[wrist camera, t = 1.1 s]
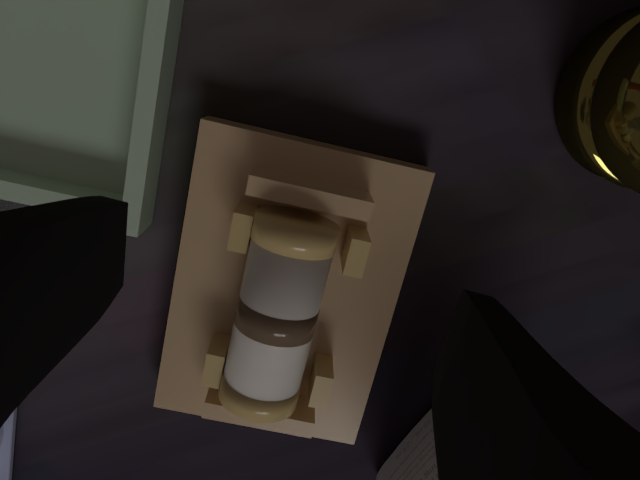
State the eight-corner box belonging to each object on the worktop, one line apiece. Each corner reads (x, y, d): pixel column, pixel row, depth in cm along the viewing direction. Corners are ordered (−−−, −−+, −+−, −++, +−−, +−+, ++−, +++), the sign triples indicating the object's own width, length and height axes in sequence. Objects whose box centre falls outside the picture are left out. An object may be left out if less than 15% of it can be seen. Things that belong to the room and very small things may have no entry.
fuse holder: (351, 424, 29) (357, 473, 25) (162, 388, 28) (140, 433, 24) (427, 166, 25) (446, 183, 21) (207, 115, 24) (189, 123, 20)
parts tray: (151, 223, 25) (137, 237, 23) (-132, 161, 24) (-174, 171, 22) (196, -82, 21) (183, -99, 19) (-137, -169, 20) (-189, -197, 18)
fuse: (302, 387, 26) (288, 432, 22) (231, 367, 26) (207, 409, 23) (344, 220, 23) (336, 242, 20) (266, 200, 24) (245, 219, 20)
